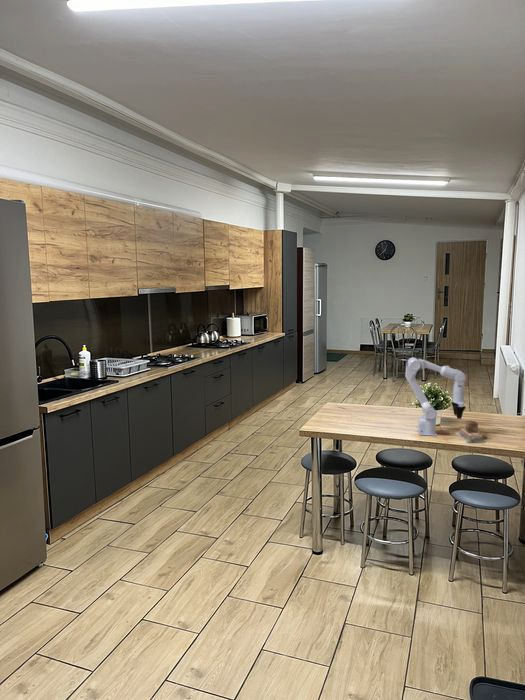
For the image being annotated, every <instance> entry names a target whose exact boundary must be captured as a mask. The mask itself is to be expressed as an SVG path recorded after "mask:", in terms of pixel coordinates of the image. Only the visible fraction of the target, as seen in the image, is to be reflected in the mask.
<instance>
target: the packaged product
mask: <svg viewBox="0 0 525 700" xmlns="http://www.w3.org/2000/svg"><path fill="white" fill-rule="evenodd" d="M456 435H457V436H458V437H459V436H460V437H459V438H461V440H463V441H464V440H465V441H466V444H486V441H485V440H484V439H483V436H482V435H481V434H480V433H479V432H478V433H477V432H467V431H466V427H461V428H460V429H459V432H456ZM465 441H464V442H465Z"/></svg>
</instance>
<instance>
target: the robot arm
mask: <svg viewBox="0 0 525 700" xmlns="http://www.w3.org/2000/svg"><path fill="white" fill-rule="evenodd" d="M420 369H421V370H423V369H428V370H430V371H431V370H432V371H433V372H438V373H439V374H440V375H441V376H442V377H444V378H447V379H450V380H453V388H452V391H453V392H452V402H450V404H451V405H452V408H453V415H454V416H456V419H457V420H459V419H462V417H463V414H464V411H465V409H466V406H464V403H467V400H466V399H465V381H466V380H467V377H466V374H465V373H464V372H463V371H461V370H460V369H457V368H456V369H454V368H452V367H450V365H443V366H439V365H438V364H435V363H433V362H430V361H428V360H426V359H422V358H417V357H410V358H408V360H407V361H406V364H405V375H404V377H405V379H406V380H407V382H408V384H409V386H410V388H411V390H412V391H413V393H414V395H415V397H416V399H417V400H418V403H419V404H420V405H421V407H422V413H423V414H424V415H423V416H422V417H418V419H417V420H418V422H417V423H418V426H417V433H418V435H419V436H433V437H435V436H438V434H437V433H436V432H437V431H436V429H437V428H436V427H437V410H436V409H435V407H434V406H432V405H431V404H430V402H429V400H428V398H427V397H426V394H425V393H424V391H423V389H422V388H421V386H420V384H419V382H418V381H417V378H416V376H417V375H416V374H417V373H418V371H419V370H420Z"/></svg>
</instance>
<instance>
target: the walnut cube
mask: <svg viewBox="0 0 525 700" xmlns="http://www.w3.org/2000/svg"><path fill="white" fill-rule="evenodd" d="M465 428H466V431H467V432H477V433H479V432H478V431H479V423H478V422H477V421H476V420H466V421H465Z"/></svg>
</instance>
